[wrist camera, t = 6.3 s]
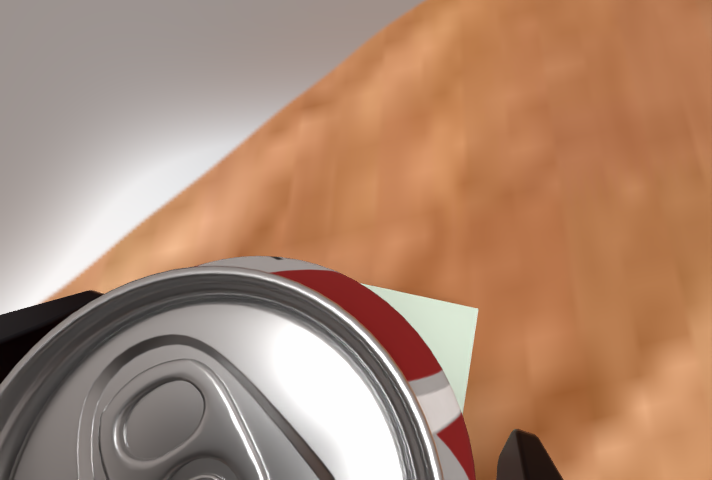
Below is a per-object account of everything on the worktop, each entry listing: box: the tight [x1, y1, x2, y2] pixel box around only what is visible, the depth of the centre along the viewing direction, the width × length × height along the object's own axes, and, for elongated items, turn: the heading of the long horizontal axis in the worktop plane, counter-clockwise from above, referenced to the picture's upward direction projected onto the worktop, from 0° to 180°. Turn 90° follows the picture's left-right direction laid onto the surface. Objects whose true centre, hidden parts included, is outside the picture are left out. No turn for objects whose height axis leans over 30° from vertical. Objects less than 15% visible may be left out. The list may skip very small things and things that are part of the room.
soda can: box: [0, 256, 476, 480], centre depth 10 cm, size 7×7×12 cm
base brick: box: [360, 283, 478, 415], centre depth 17 cm, size 10×10×3 cm
